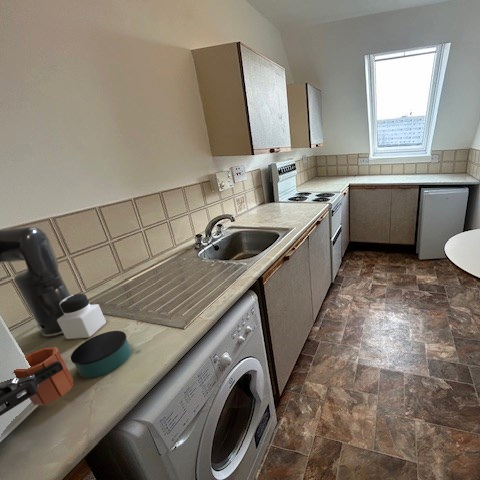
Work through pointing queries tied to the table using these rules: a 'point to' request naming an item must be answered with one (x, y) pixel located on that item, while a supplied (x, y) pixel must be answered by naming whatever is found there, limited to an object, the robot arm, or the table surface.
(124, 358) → the teal tin
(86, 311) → the medicine bottle
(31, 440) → the table surface
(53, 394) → the terracotta cup
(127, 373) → the table surface
